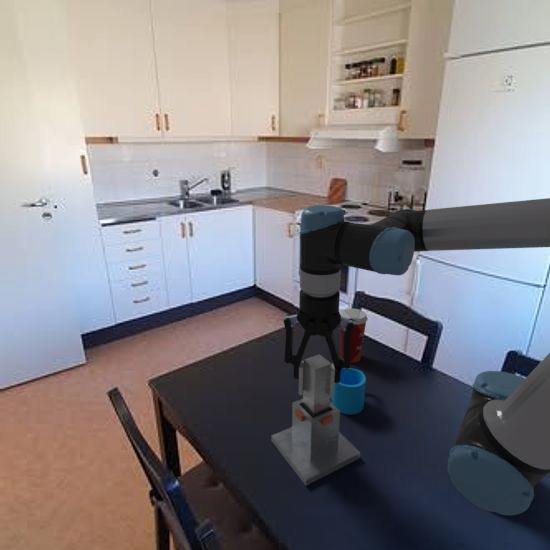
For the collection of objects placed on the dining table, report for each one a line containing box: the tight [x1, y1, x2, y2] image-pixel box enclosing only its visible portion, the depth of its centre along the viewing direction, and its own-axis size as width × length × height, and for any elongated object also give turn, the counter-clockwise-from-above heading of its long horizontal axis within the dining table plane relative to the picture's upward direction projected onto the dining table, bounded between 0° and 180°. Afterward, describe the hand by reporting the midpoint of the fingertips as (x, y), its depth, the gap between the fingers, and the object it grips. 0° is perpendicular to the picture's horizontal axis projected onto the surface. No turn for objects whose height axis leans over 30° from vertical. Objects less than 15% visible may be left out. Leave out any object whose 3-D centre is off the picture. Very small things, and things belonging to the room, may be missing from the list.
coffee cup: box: [339, 308, 368, 364], centre depth 120 cm, size 8×8×15 cm
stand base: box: [270, 398, 361, 487], centre depth 86 cm, size 14×14×12 cm
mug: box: [331, 367, 367, 416], centre depth 103 cm, size 12×8×8 cm
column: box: [302, 354, 332, 418], centre depth 84 cm, size 4×4×19 cm
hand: (316, 392), depth 83 cm, fingers closed on column, 6 cm apart
